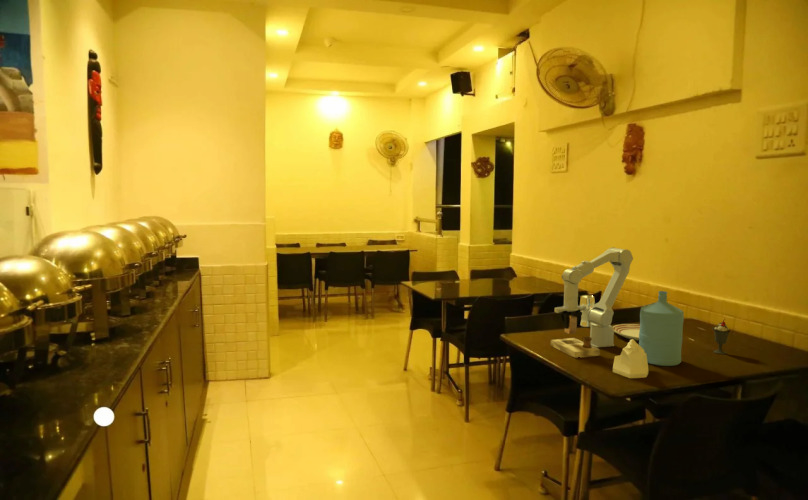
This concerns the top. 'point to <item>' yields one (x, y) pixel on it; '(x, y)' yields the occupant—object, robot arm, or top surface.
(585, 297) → the beer glass
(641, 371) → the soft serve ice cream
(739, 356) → the top surface
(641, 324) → the water jug
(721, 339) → the sundae
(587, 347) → the board
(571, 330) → the brown wooden block
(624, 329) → the dinner plate
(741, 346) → the top surface
